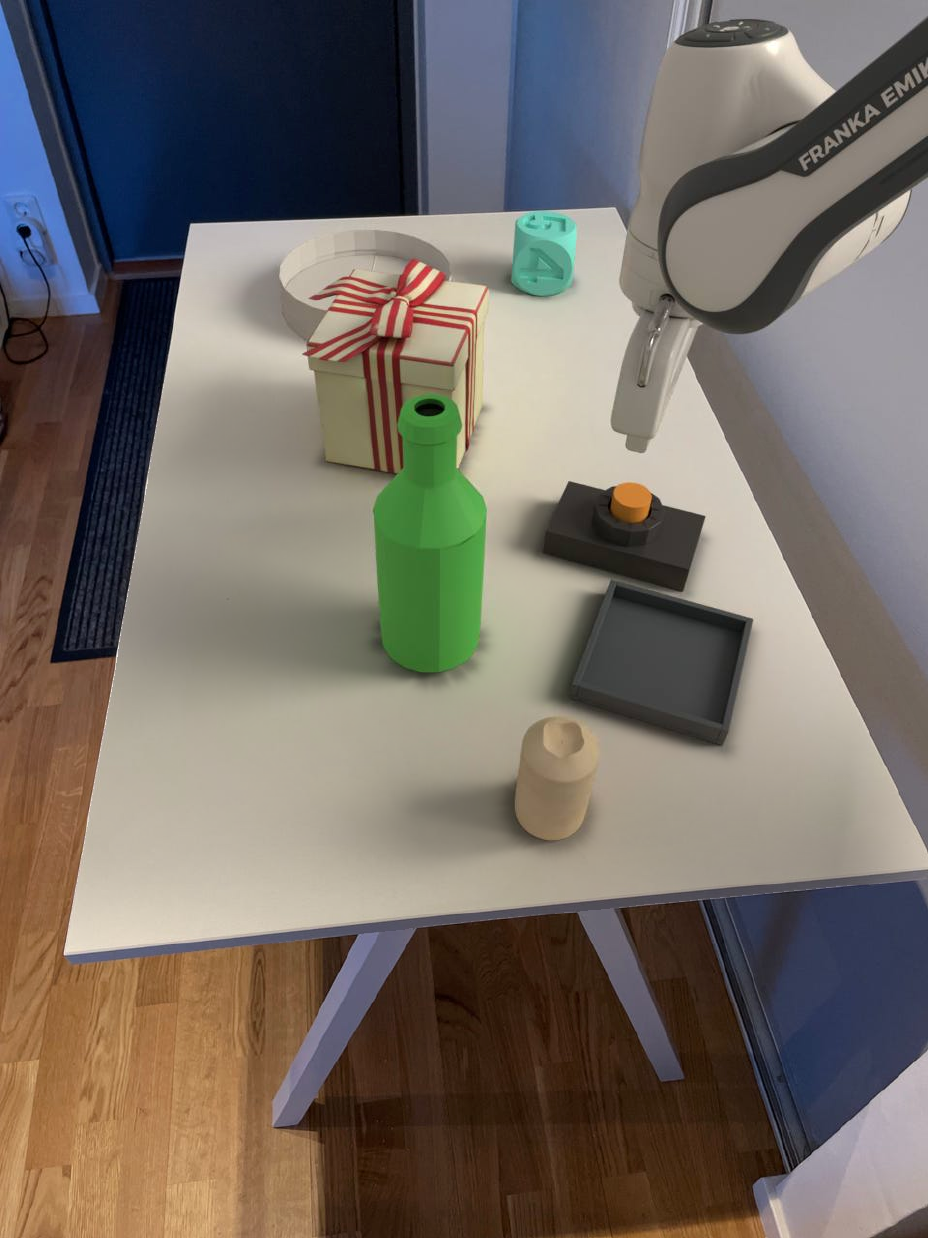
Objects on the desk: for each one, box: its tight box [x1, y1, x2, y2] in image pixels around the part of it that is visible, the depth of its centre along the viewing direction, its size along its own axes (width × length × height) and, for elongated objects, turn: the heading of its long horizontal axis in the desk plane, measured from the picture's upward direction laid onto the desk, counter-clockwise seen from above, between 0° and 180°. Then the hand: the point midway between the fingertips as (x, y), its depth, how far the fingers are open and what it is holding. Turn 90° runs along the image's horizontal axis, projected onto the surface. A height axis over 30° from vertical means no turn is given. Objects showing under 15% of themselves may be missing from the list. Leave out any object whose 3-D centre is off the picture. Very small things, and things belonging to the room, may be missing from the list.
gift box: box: [301, 259, 490, 474], centre depth 96 cm, size 17×18×17 cm
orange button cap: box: [610, 481, 652, 523], centre depth 87 cm, size 4×4×2 cm
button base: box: [542, 480, 706, 592], centre depth 89 cm, size 14×8×5 cm, turn 69°
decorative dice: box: [510, 210, 578, 297], centre depth 122 cm, size 8×8×8 cm
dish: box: [278, 229, 452, 341], centre depth 118 cm, size 22×22×5 cm
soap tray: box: [568, 579, 754, 746], centre depth 81 cm, size 13×13×2 cm
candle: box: [514, 716, 601, 841], centre depth 68 cm, size 6×6×10 cm
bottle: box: [372, 394, 488, 673], centre depth 73 cm, size 9×9×25 cm
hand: (648, 418), depth 80 cm, fingers open, 7 cm apart
